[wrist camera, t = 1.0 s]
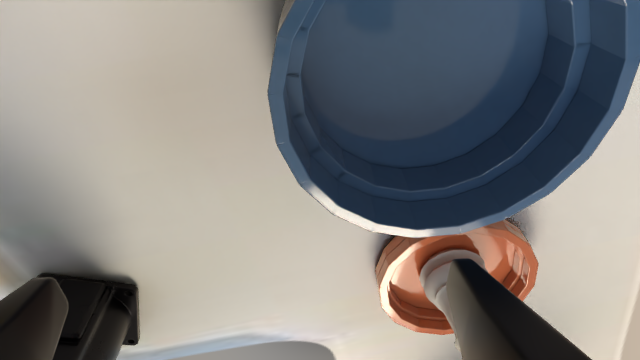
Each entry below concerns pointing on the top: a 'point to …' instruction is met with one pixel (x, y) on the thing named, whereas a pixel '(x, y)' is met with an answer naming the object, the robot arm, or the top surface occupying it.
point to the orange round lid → (412, 253)
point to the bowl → (446, 103)
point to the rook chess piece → (443, 279)
